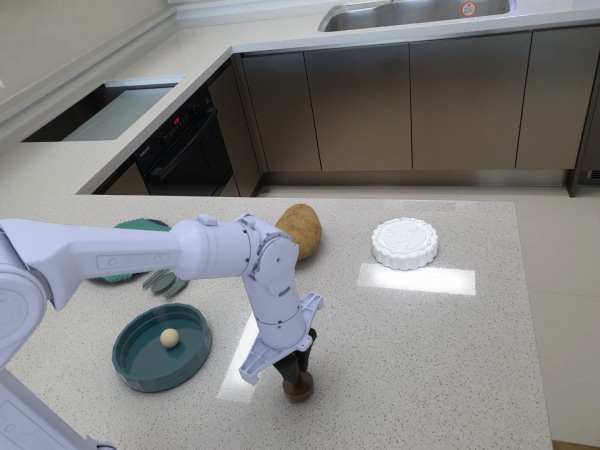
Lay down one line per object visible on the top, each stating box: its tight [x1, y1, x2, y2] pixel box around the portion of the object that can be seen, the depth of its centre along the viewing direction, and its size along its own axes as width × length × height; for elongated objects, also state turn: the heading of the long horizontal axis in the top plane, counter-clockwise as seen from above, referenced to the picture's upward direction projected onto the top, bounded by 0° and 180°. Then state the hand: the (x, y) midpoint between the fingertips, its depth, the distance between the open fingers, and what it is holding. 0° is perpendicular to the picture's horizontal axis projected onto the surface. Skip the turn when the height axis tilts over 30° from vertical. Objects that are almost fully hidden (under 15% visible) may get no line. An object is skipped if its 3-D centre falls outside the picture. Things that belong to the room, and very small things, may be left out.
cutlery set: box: [90, 217, 189, 300], centre depth 96 cm, size 20×30×2 cm, turn 56°
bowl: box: [111, 302, 213, 393], centre depth 74 cm, size 15×15×4 cm
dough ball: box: [160, 329, 179, 348], centre depth 75 cm, size 3×3×3 cm
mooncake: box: [370, 216, 439, 272], centre depth 85 cm, size 12×12×4 cm
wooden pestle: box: [281, 351, 316, 404], centre depth 62 cm, size 4×4×9 cm
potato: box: [274, 203, 323, 261], centre depth 88 cm, size 10×14×8 cm
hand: (295, 374), depth 63 cm, fingers closed on wooden pestle
